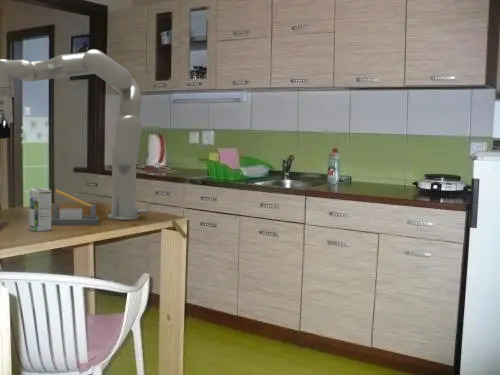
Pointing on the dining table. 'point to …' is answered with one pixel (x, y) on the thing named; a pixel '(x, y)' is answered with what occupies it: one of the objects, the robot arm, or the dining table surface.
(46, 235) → the dining table surface
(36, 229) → the syrup box
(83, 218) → the base
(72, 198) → the yellow long flat bar
